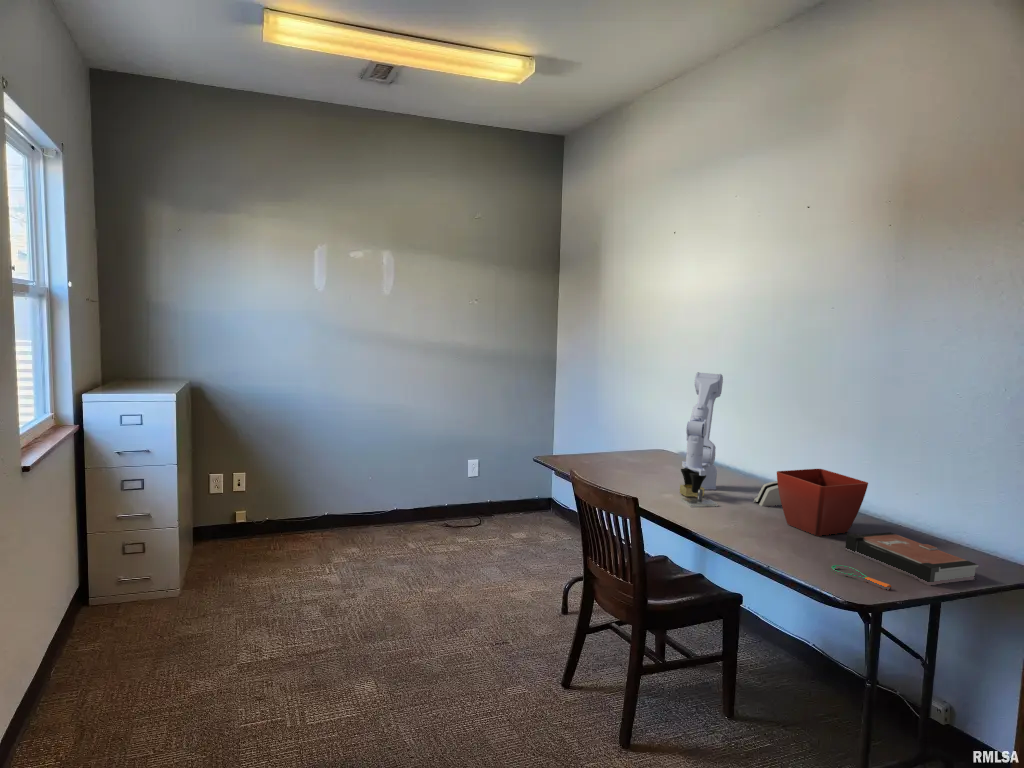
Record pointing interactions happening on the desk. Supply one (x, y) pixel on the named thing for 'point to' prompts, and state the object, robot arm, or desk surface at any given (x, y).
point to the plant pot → (820, 500)
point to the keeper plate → (699, 501)
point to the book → (911, 556)
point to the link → (688, 490)
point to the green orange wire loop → (864, 577)
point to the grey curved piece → (769, 495)
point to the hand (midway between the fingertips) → (691, 490)
